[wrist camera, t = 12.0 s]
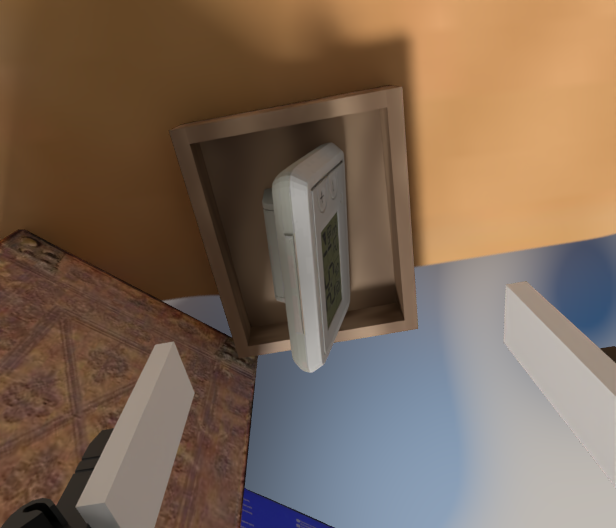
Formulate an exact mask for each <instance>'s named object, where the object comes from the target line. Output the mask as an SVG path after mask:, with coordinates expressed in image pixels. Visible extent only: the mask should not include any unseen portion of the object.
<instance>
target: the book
mask: <svg viewBox="0 0 616 528" xmlns="http://www.w3.org/2000/svg"><path fill="white" fill-rule="evenodd" d="M173 341H174V343H175V345H176V348H177V350H178V353H179V355H180V358H181V360H182V363H183V365H184V368H185V370H186V373H187V375H188V378H189V380H190V383H191V385H192V388H193V390H194V397H193V400H192V403H191V407H190V410H189V413H188V417H187V420H186V423H185V427H184V430H183V434H182V437H181V440H180V444H179V447H178V450H177V454H176V457H175V460H174V464H173V467H172V470H171V474H170V477H169V480H168V484H167V487H166V490H165V494H164V497H163V500H162V504H161V507H160V511H159V514H158V517H157V521H156V524H155V527H154V528H240V527H241V517H242V507H243V497H244V486H245V477H246V467H247V457H248V446H249V436H250V428H251V417H252V408H253V398H254V388H255V378H256V368H257V358H258V355H257V356H251V357H245V358H239V357H238V354H237V351H236V347H235V344H234V341H233V338H232V337H230V336H228V335H226V334H224V333H222V332H220V331H218V330H216V329H214V328H212V327H210V326H209V325H207V324H205V323H203V322H201V321H199V320H197V319H195V318H193V317H191V316H189V315H188V314H185V313H183V312H182V311H180V310H178V309H176V308H174V307H172V306H170V305H168V304H166V303H164V302H163V301H161V300H159V299H157V298H155V297H153V296H151V295H149V294H147V293H145V292H143V291H141V290H140V289H138V288H136V287H134V286H132V285H130V284H128V283H126V282H124V281H122V280H120V279H118V278H117V277H115V276H113V275H111V274H109V273H107V272H105V271H103V270H101V269H99V268H97V267H95V266H93V265H92V264H90V263H88V262H86V261H84V260H82V259H80V258H78V257H76V256H74V255H72V254H70V253H69V252H67V251H65V250H63V249H61V248H59V247H57V246H55V245H53V244H51V243H49V242H47V241H46V240H44V239H42V238H40V237H38V236H36V235H34V234H32V233H30V232H28V231H26V230H17V231H16V232H14V233H12V234H11V235H9V236H7V237H6V238H4V239H2V240H1V241H0V528H1V527H2V525H3V524H4V522H5V521H6V520H7V519H8V518H9V517H10V516H11V515H12V514H13V513H14V512H15V511H16V510H18V509H19V508H20V507H21V506H23V505H25V504H27V503H29V502H31V501H32V500H36V499H40V498H47V499H51V500H52V501H53V503H54V504H55V505H57V503H58V501H59V499H60V498H61V496H62V494H63V492H64V490H65V488H66V486H67V485H68V483H69V481H70V479H71V477H72V475H73V474H75V470H76V468H77V466H78V464H79V462H80V461H82V457H83V455H84V453H85V451H86V449H87V447H88V446H89V444H90V443H91V442H92V441H93V439H94V438H95V437H96V436H97V435H98V434H99V433H100V432H101V431H102V430H106V429H112V428H114V427H115V425H116V423H117V421H118V419H119V417H120V415H121V413H122V411H123V409H124V407H125V405H126V403H127V401H128V399H129V397H130V395H131V393H132V391H133V389H134V387H135V385H136V383H137V381H138V379H139V377H140V375H141V373H142V371H143V369H144V367H145V365H146V362H147V360H148V358H149V356H150V354H151V352H152V350H153V348H154V346H155V345H156V344H162V343H168V342H173Z"/></svg>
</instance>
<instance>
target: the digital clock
mask: <svg viewBox="0 0 616 528" xmlns="http://www.w3.org/2000/svg"><path fill="white" fill-rule="evenodd" d="M262 205H263V212H264V219H265V226H266V234H267V241H268V249H269V256H270V263H271V271H272V278H273V286H274V294H275V298H276V300H277V301H280V302H284V303H285V304H286V312H287V320H288V329H289V336H290V344H291V351H292V357H293V360H294V361H295V363H296V364H297V365H298V366H299V367H300V368H301V369H302V370H304V371H306V372H310V373H312V372H314V371H315V370H317V369H318V368H319V367H321V366H322V365H324V363H325V361H326V359H327V357H328V355H329V353H330V350H331V348H332V345H333V343H334V341H335V338H336V336H337V334H338V331H339V329H340V326H341V324H342V322H343V319H344V317H345V315H346V312H347V310H348V307H349V304H350V274H349V251H348V227H347V204H346V180H345V161H344V153H343V151H342V150H341V149H340V148H339V147H337V146H336V145H335V144H334V143H332V142H331V143H325V144H322V145H320V146H319V147H317V148H316V149H314V150H312V151H311V152H309V153H308V154H306V155H305V156H303V157H302V158H300V159H299V160H297V161H296V162H294V163H293V164H291V165H290V166H288V167H287V168H286V169H284V170H283V171H282V172H280V173H279V174H278V175H277V176H276V178H275V179H274V181H273V184H272V188H268V189H265V190H264V194H263V199H262Z"/></svg>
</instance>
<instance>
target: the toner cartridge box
mask: <svg viewBox="0 0 616 528" xmlns="http://www.w3.org/2000/svg"><path fill="white" fill-rule="evenodd" d="M240 528H334V527H332V526H329V525H327V524H325V523H323V522H321V521H319V520H317V519H314V518H312V517H310V516H307V515H305V514H303V513H301V512H298V511H296V510H294V509H291V508H289V507H287V506H285V505H282V504H280V503H278V502H276V501H273V500H271V499H269V498H267V497H264V496H261V495H259V494H257V493H254V492H252V491H250V490H247V489H246V488H244V497H243V507H242V517H241V527H240Z"/></svg>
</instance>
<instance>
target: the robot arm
mask: <svg viewBox="0 0 616 528" xmlns="http://www.w3.org/2000/svg"><path fill="white" fill-rule="evenodd" d="M505 297H506V298H505V320H504V343H505V345H506V346H507V347H508V349H509V350H510V351H511V353H512V354H513V355H514V356H515V358H516V359H517V360H518V362H519V363H520V364H521V365H522V367H523V368H524V369H525V371H526V372H527V373H528V375H529V376H530V377H531V379H532V380H533V381H534V382H535V384H536V385H537V386H538V388H539V389H540V390H541V392H542V393H543V394H544V395H545V397H546V398H547V399H548V401H549V402H550V403H551V405H552V406H553V407H554V408H555V410H556V411H557V412H558V414H559V415H560V416H561V417H562V419H563V420H564V422H565V423H566V424H567V425H568V426H569V428H570V429H571V431H572V432H573V433H574V435H575V436H576V437H577V438H578V440H579V441H580V442H581V444H582V445H583V446H584V448H585V449H586V450H587V451H588V453H589V454H590V455H591V457H592V458H593V459H594V461H595V462H596V463H597V464H598V466H599V467H600V468H601V470H602V471H603V472H604V474H605V475H606V476H607V477H608V479H609V480H610V481H611V482H612V484H613V485H614V486H615V488H616V347H615V346H612V347H606V348H599V347H597V346H596V345H595V344H594V343H593V342H592V341H591V340H590V339H589V338H588V337H586V336H585V335H584V334H583V333H582V332H581V331H580V330H579V329H578V328H577V327H576V326H574V325H573V324H572V323H571V322H570V321H569V320H568V319H567V318H566V317H565V316H564V315H562V314H561V313H560V312H559V311H558V310H557V309H556V308H555V307H554V306H553V305H552V304H550V303H549V302H548V301H547V300H546V299H545V298H543V296H542V295H541V294H539V293H538V292H537V291H536V290H535V289H534V288H533V287H532V286H531V285H530V284H528V283H527V282H526V281H525V282H519V283H513V284H507V285H506V296H505ZM193 397H194V390H193V388H192V385H191V383H190V380H189V378H188V375H187V373H186V370H185V368H184V365H183V363H182V360H181V358H180V355H179V353H178V350H177V348H176V345H175V343H174V341H173V342H168V343H162V344H156V345H155V346H154V348H153V350H152V352H151V354H150V356H149V358H148V360H147V362H146V365H145V367H144V369H143V371H142V373H141V375H140V377H139V379H138V381H137V383H136V385H135V387H134V389H133V391H132V393H131V395H130V397H129V399H128V401H127V403H126V405H125V407H124V409H123V411H122V413H121V415H120V417H119V419H118V421H117V423H116V425H115V427H114V428H112V429H106V430H102V431H101V432H100V433H99V434H98V435H97V436H96V437H95V438H94V439H93V441H92V442H91V443H90V444H89V446H88V447H87V449H86V451H85V453H84V455H83V457H82V461H80V462H79V464H78V466H77V468H76V470H75V474H73V475H72V477H71V479H70V481H69V483H68V485H67V486H66V488H65V490H64V492H63V494H62V496H61V498H60V499H59V501H58V503H57V505H55V504H54V503H53V501H52V500H51V499H47V498H40V499H36V500H32V501H31V502H29V503H27V504H25V505H23V506H21V507H20V508H19V509H18V510H16V511H15V512H14V513H13V514H12V515H11V516H10V517H9V518H8V519H7V520H6V521H5V522H4V524H3V525H2V527H1V528H154V527H155V524H156V521H157V517H158V514H159V511H160V507H161V504H162V500H163V497H164V494H165V490H166V487H167V484H168V480H169V477H170V474H171V470H172V467H173V464H174V460H175V457H176V454H177V450H178V447H179V444H180V440H181V437H182V434H183V430H184V427H185V423H186V420H187V417H188V413H189V410H190V407H191V403H192V400H193Z"/></svg>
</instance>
